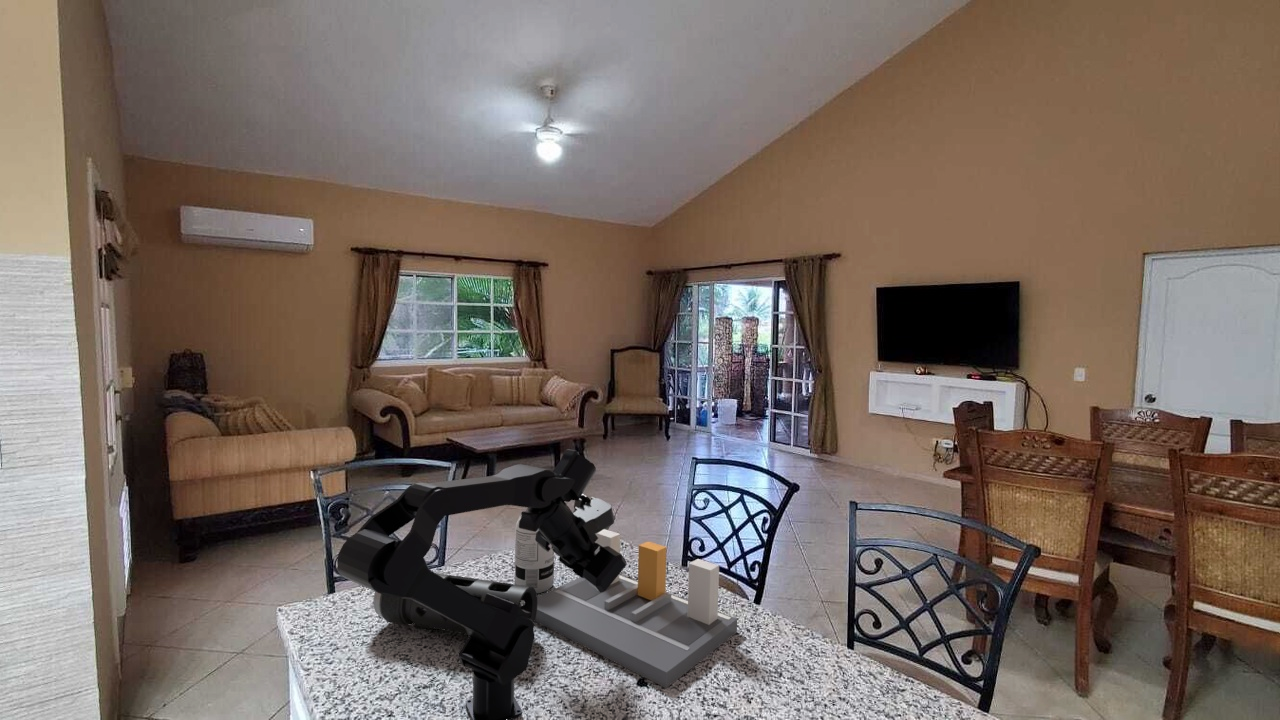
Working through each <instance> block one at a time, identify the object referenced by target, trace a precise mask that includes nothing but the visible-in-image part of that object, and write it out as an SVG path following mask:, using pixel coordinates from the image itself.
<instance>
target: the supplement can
mask: <svg viewBox="0 0 1280 720" xmlns="http://www.w3.org/2000/svg"><path fill="white" fill-rule="evenodd" d="M520 519H521V515H520V516H519V517H518V519H517V522H516V523H515V534H514V536H515V538H514V539H515V540H514V542H515V543H514V553H515V554H514V584H516V585H523V586H530V587H533V588H534V589H535V591H536V594H537V595H538V594H543V593H546V592H548V591H550V590H551V587H553V585H554V580H555V552H554V551H553V550H552V549H553V546H552V545H551V544H549V545H548V546H549V547H550V550H549V551H548V552H547V551H546V550H545V549H543V548H542V547H541V546H540V545H539V544H538V543H537V542H536V540H535V538H536V533H537V532H538V531H539V529H538V530H537V531H536V532H534V531H529V530H525V529H520V528H519V521H520ZM542 592H543V593H542Z"/></svg>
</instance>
